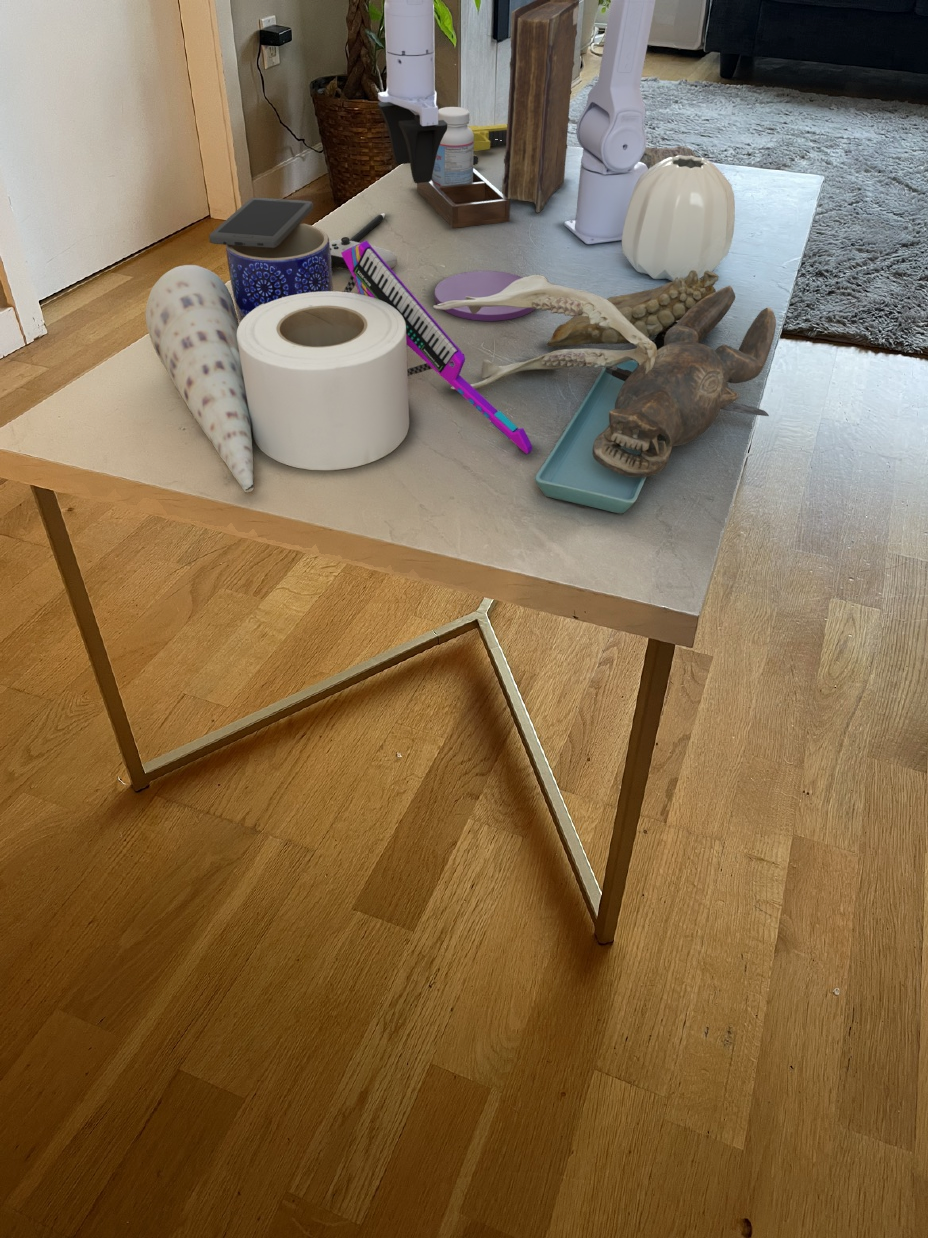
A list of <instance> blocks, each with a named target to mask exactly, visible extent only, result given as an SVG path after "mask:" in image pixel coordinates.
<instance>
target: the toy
mask: <svg viewBox="0 0 928 1238" xmlns="http://www.w3.org/2000/svg"><path fill="white" fill-rule="evenodd" d="M359 243H360V244H357V245H355V246H353V247H351V248H349V249H347V250H345V251H343V252H342V253H341V254H342V256H343V258H344V260H345V262H346V264H347V266H348V268H349V269H350V270H349V271H350V273H351V275H350V278H349V280H348V283H347V284H346V286H345V288H344V289H343V292H349V293H352V291H353V290H354V288H355V286H356V287H357V291H358V294H361V295H366V296H370V297H373V298H376V299H379V300H381V301H384V302H386V303H388V304H389V305H391V306H392V307H394V308H395V309H396V310H398V311H399V313H400V314H401V315H402V316H403V318H404V320H405V324H406V344H407V347H408V348H410V349H411V350H412V351H413V352H414V353H415V354H416V355H417V356H418V357H420V358H421V359H422V360H423V361H424V362H425V363H422V364H420V365H416V366H412V367H410V368H407V373H408V377H409V376H413V375H417V374H419V373H423V372H426V371H430V370H434V371H435V372H436V373H437V374H438V375H439V376H441V378H442V379H444V380H445V381H446V382H447V383H448V384H449V385H450V386H451V387H454V388H455V389H456V390H455V391H456V392H458V393H459V395H461V396H462V397H463V398H464V399H465V400H467V401H468V402H469V403H470V404H471V405H472V406H473V407H474V408H475V409H476V410H477V411H479V412H480V413H481V414H482V415H483V416H484V417H485V418H486V419H488V420H489V421H490V422H489V423H490V424H491V425H492V426H494V427H495V428H496V429H497V430H498V431H499V432H500V433H501V434H502V435H503V436H505V438H507V440H511V441H512V442H513V443H514V444H515V445H516V446H517V447H518V448H519V449H520V450H521V451H523V453H524V454H527V455H528V454H530V453H531V452H532V451H533V445H532V443H531V440H530V439H529V436H528V435H527V432H526V430H525V428H524V427H521V428H519V427H518V426H517V425H516V424H515V423H514V422H513V421H511V420H510V419H509V418H508V417H507V416H506V415H505V414H504V413H503V412H502V411H501V410H498V409H497V408H496V407H495V406H494V405H492V404H491V402H490V401H488V399H486V398H485V397H484V396H483V395H482V394H480V392H479V391H477V389H476V388H475V389H474V388H473V387H472V386H471V385H470V384H471V383H469V382H468V381H467V380H466V379H464V377H462V376H461V375H460V374H461V372H462V369H463V367H464V364H465V362H466V357H465V354H464V353H463V352H462V350H461V349H460V348H459V347H458V346H457V344H455V342H454V341H453V340H452V339H451V338H450V336H449V335H448V334H447V333H446V332H445V331H444V329H442V327H441V326H440V325H439V324H438V322H437V321H436V320H435V319H434V318H433V317H432V316H431V314H430V313H429V312H428V310H426V309H425V307H424V306H423V304H421V303H420V302H419V300H418V298H416V297H415V295H414V294H413V293H412V292H411V290H409V289H408V287H407V286H406V285H405V284H404V283H403V282H402V281H401V279H400V278H399V277H398V275H396V273H395V272H394V271H393V270H392V269H390V268H389V266H388V265H387V264H386V263H385V262H384V261H383V259H382V258H381V257H380V256H379V255H378V254H377V252H376V251H375V250H374V249H373V248H372V247H371V245H372V244H370V243H369V242H368V240H364V241H362V242H359Z"/></svg>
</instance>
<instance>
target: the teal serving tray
mask: <svg viewBox="0 0 928 1238" xmlns="http://www.w3.org/2000/svg"><path fill="white" fill-rule="evenodd" d="M616 367H618V368H621V369H623V370H629V371H631V372H633V371H634V370H635V369H636V368H637V367H638V362H637V361H636V360H634V359H632V360H629V361H626V362H623V363H621V364H619V365H616ZM605 369H606V367H602V370H601V371H600V373H599V374H598V376H597V377H596V379H595V381H594V383H593V384H592V386H591V388H590V389H589V391H588V392H587V394H586V395H585V397H584V399H583V401H582V402H581V403H580V405H579V406H578V408H577V410H576V412H575V413H574V414H573V416H572V417H571V420H570V421H569V422H568V424H567V425H566V427H565V429H564V431H563V432H562V434H561V435H560V437H559V439H558V440H557V441H556V443H555V445H554V447H553V448H552V450H551V451H550V453H549V454H548V456H547V458H546V459H545V460H544V462H543V464H542V466H541V467H540V468H539V470H538V472H537V473H536V474H535V475H534V481H535V483H536V485H537V486H538V488H539V489H540V490H541V492H542V493H543V495H544V496H545V497H548V498H552V499H555V500H561V501H565V502H569V503H572V504H577V505H582V506H586V507H589V508H595V509H599V510H602V511H607V512H612V513H616V514H624V513H626V512H627V511H628V510H629V509H630V508H631V507H632V506H633V505H634V504H635V503H636V502H637V499H638V497H639V494H640V492H641V490H642V487H643V486H644V484H645V481H646V479H647V477H648V476H646V477H629V476H625V475H622V474H618V473H615V472H613V471H612V470H610V469H609V468H607V467H604V466H603V465H601V464H600V463H599V462H597V461H596V460H595V459H594V457H593V454H592V449H593V444H594V441H595V439H596V438H597V437H598V435H599V434H601V433H602V432H603V431H604V430H606V429H607V427H608V426H609V412H610V411H611V410H613V409H615V402H616V399H617V397H618V394H619V391H620V389H621V387H622V386H623V384H624V382H625V381H623V380H620V379H618V378H616V377H614V376H612V375H610V374H609V373H607V372H606V371H605ZM621 448H622V449H624V450H625V451H627V452H629V453H631V454H636V455H638V454H639V455H640V453H641V451H637V450H636V449H635V450H633V449H632V448H626V447H625V446H622V447H621Z"/></svg>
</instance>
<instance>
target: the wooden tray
mask: <svg viewBox="0 0 928 1238" xmlns="http://www.w3.org/2000/svg"><path fill="white" fill-rule="evenodd" d="M416 192H417V193H419V194H420V196H421V197H422V198H423V199H424V200H425V201H426V202H427V203H428V204H429V205H430V206H431V207H432V208H433V209H434V211H436V212H437V213H438V214H439V216H440V217H442V219H443V220H444V221H445V222H446V223H447V224H448V225H449V226H450V227H451V228H452V229H458V228H467V227H475V226H484V225H492V224H501V223H509V222H510V207H511V200H509V199H508V198H507V197H506V196H505V195H504V194H502V191H501V190H499V189H498V188H497V187H496V186H495V185H494V184H492V182H490V181H489V180H488V179H487V178H486V177H484V176H483V175H482V174H481V173H480V172H479V171H478V170H476V169H475V168H474V167H473V183H465V184H456V185H447V186H437V185H436V184H435V183H434V182H433V181H432V178H431V182H424V183H416Z"/></svg>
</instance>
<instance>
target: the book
mask: <svg viewBox="0 0 928 1238" xmlns="http://www.w3.org/2000/svg"><path fill="white" fill-rule="evenodd" d="M579 7H580V0H533V1H531V2H529V3H527V4H525V5H523V6H519V7H517V8H515V9H514V10H512V11H511V13H510V61H509V89H508V103H507V104H508V106H507V107H508V108H507V123H506V124H507V139H506V144H505V153H504V158H503V164H504V172H503V173H504V174H503V178H502V183H501V186H502V187H501V193H502V194H504V195H505V196H506V197H507V198H508V199H509V200H510V201H511V200H513V201H514V200H516V201H517V200H518V201H523V202H530V203H534V205H535V213H536V214H539V213H540V212H541V211H542V210H543V209H544V208H545V206H546V205H547V203H548V202H549V199H550V198H551V197H552V196H553V194H554V193H555V192H556V191H557V190H559V189H560V188H561V187H562V186H563V185H564V182H565V177H566V176H565V174H566V161H567V160H566V159H567V150H568V135H569V134H568V132H569V131H568V130H569V123H570V106H571V95H572V80H573V72H574V70H573V69H574V66H575V61H574V60H575V50H576V49H575V48H576V38H577V35H578V29H577V28H578V17H579Z"/></svg>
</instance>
